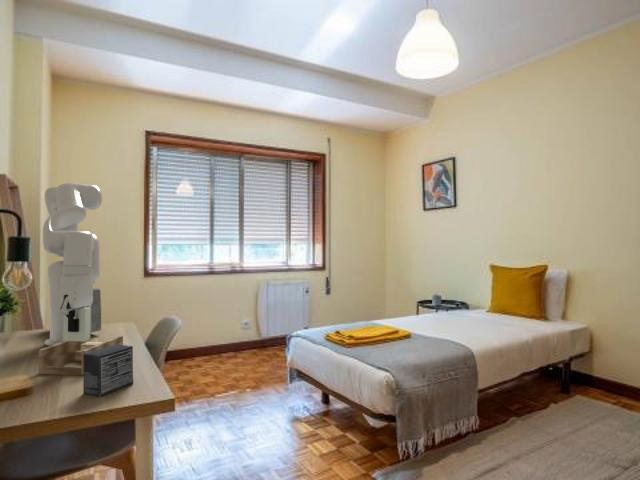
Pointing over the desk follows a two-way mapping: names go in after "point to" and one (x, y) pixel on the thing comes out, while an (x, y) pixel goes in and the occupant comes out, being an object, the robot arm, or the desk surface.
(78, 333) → the white box
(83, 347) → the offcut
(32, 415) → the desk surface
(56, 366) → the rack
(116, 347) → the small box
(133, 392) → the desk surface
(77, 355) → the offcut
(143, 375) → the desk surface
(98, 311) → the decorative stone tablet
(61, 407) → the desk surface
